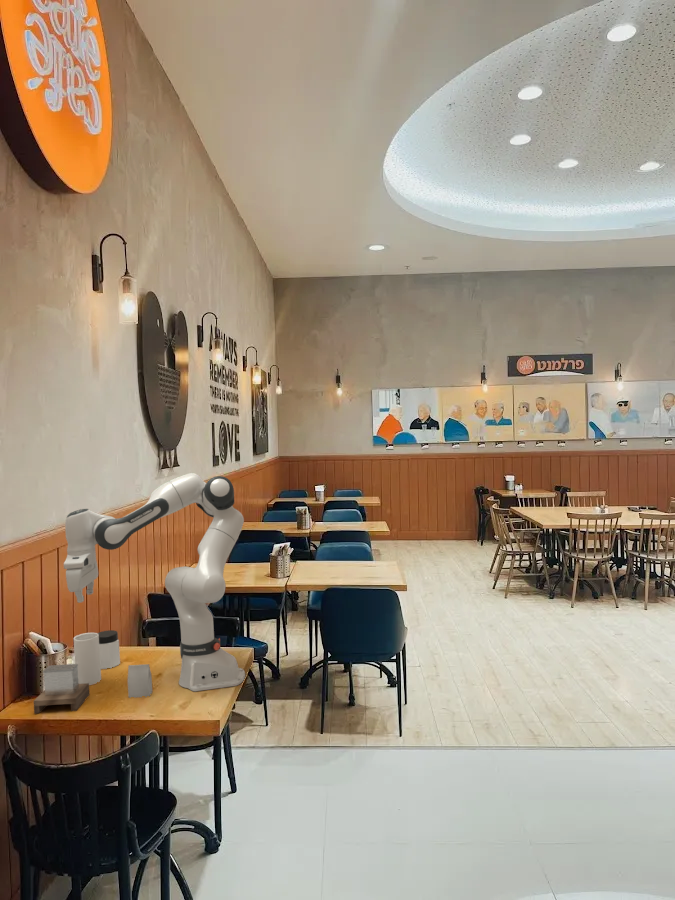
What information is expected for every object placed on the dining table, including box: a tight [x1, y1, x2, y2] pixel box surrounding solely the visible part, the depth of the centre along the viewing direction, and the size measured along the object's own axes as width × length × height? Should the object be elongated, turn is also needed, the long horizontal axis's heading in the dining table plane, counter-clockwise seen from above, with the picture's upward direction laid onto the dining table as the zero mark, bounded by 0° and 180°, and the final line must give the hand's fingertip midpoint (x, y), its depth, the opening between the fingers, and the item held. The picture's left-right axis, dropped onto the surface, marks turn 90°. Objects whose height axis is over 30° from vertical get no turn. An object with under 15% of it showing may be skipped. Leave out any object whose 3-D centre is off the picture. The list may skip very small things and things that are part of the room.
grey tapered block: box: [127, 664, 153, 699], centre depth 211 cm, size 4×7×10 cm, turn 91°
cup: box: [73, 632, 102, 686], centre depth 225 cm, size 8×8×16 cm
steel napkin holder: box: [42, 663, 79, 696], centre depth 207 cm, size 9×5×8 cm, turn 92°
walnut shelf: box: [33, 683, 91, 714], centre depth 207 cm, size 13×12×4 cm
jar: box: [97, 629, 121, 670], centre depth 241 cm, size 9×8×12 cm
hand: (85, 598), depth 217 cm, fingers open, 8 cm apart
